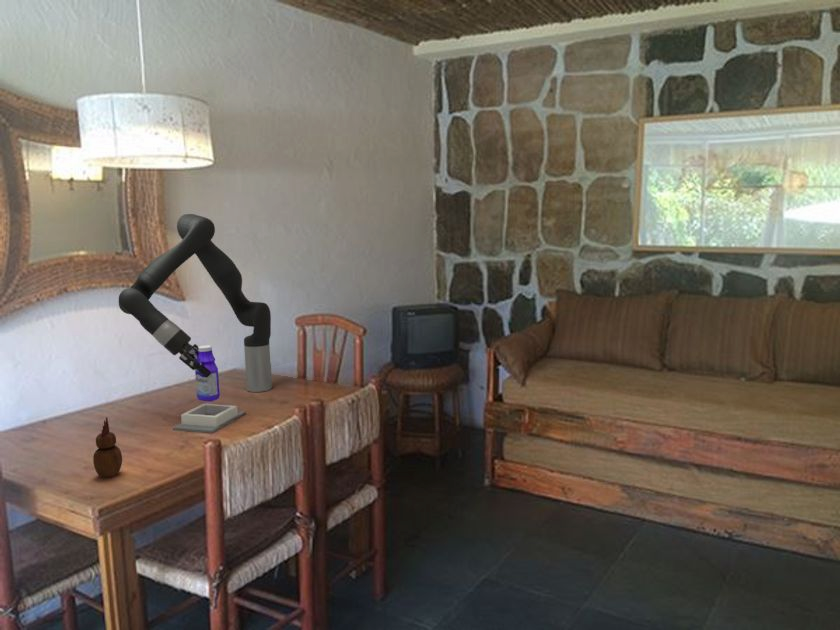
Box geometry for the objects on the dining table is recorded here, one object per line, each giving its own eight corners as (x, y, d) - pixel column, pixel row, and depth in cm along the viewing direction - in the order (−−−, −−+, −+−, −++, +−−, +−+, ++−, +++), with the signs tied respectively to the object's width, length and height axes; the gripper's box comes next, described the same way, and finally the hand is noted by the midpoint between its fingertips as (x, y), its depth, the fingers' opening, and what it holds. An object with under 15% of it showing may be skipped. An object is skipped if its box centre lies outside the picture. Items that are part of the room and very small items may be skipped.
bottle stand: (208, 411, 228) (208, 400, 228) (245, 413, 225) (245, 402, 224) (172, 429, 209) (171, 418, 209) (212, 433, 206) (211, 421, 205)
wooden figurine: (109, 469, 179) (104, 414, 176) (127, 471, 177) (122, 416, 174) (90, 478, 172) (84, 422, 170) (108, 481, 170) (103, 424, 168)
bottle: (193, 400, 215) (189, 347, 212) (206, 396, 220) (203, 343, 217) (210, 403, 212) (207, 349, 209) (223, 398, 217) (220, 345, 214)
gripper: (173, 332, 204) (215, 369, 207) (185, 324, 219) (224, 359, 221) (156, 350, 205) (198, 386, 208) (170, 341, 219) (209, 375, 222)
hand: (211, 372), depth 215 cm, fingers closed on bottle, 6 cm apart
